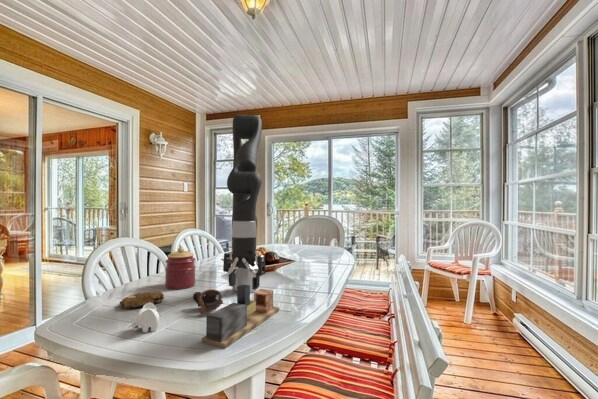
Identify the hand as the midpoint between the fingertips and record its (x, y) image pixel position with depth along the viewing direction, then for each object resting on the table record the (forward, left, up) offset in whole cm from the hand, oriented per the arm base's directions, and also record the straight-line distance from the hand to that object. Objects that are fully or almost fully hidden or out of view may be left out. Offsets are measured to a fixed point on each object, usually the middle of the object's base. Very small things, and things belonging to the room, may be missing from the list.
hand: (243, 287), depth 93 cm
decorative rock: (-46, +1, -13) cm, 48 cm away
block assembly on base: (0, +1, -12) cm, 12 cm away
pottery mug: (-20, +6, -12) cm, 24 cm away
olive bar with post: (0, -4, -9) cm, 9 cm away
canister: (-52, +24, -12) cm, 59 cm away
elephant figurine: (-25, -15, -12) cm, 32 cm away
